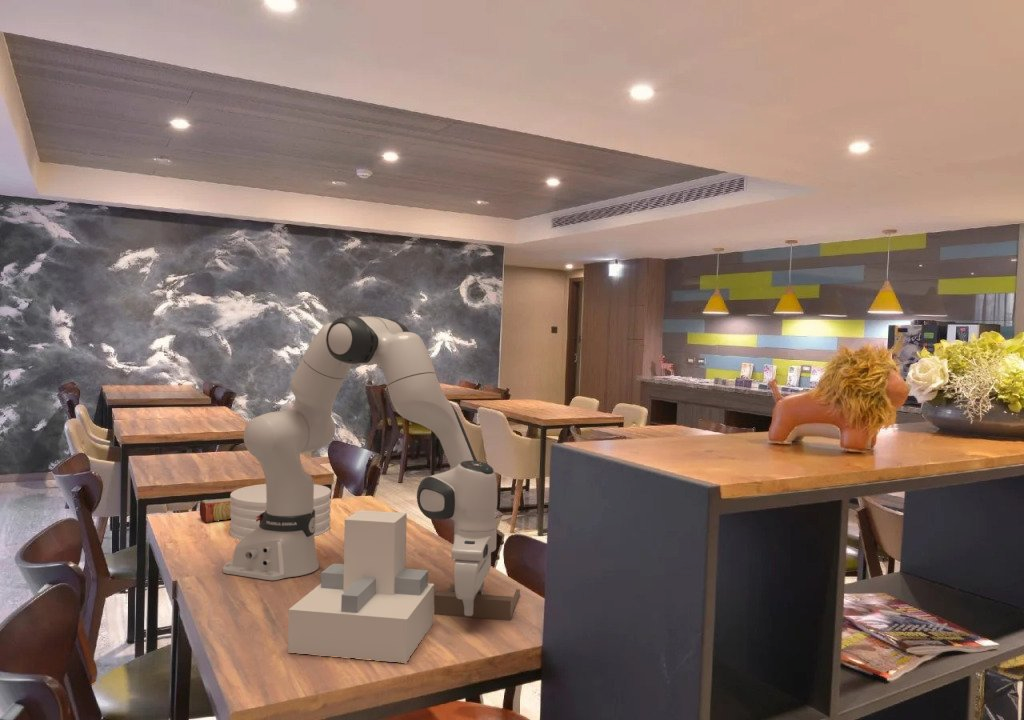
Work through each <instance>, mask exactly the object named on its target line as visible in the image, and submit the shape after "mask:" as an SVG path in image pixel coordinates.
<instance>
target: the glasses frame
mask: <svg viewBox="0 0 1024 720" xmlns="http://www.w3.org/2000/svg"><path fill="white" fill-rule="evenodd" d="M520 591H521V589H517V588H516V589H515V591H514V595H513V596H511V595H508V596H507V595H496V594H493V595H492V594H484V593H483V594H476V596H475V598H474V613H473V615H472V616H466V615H465V614H464V604H463V599H457V597H456V594H455V584H450V586H449V587H448V589H447V590H446V591H445V590H438V591H437V592H436V593H434V614H433V615H438V616H439V615H440V616H452V617H464V618H477V619H487V618H488V619H489V620H501V621H511V620H512V617H513V613H514V611H515V608H516V605H517V603H518V600H519V598H520V595H521V592H520Z"/></svg>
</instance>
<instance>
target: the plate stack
mask: <svg viewBox="0 0 1024 720" xmlns="http://www.w3.org/2000/svg"><path fill="white" fill-rule="evenodd" d="M331 495H332V489H331V488H329V487H328V486H325V485H321V484H317V483H316V484H315V483H314V501H313V509H314V510H315V533H314V537H315V536H319V535H321V534H323V533H325V532H327V531H328V530H329V529H330V530H331V523H330V522H331V508H332V507H331V502H332V501H331V500H332V499H331ZM229 498H230V499H231V503H230V508H231V511H230V517H231V520H229V526H230V529H229V535H230V537H231V536H232V537H231V538H233V539H235V538H236V539H235V540H237V539H239V540H238V541H240V540H242V539H243V538H245V537H246V536H247V535H249V534H250V533H251V532H252V531H254V530H255V529H256V528H258V527H259V524H260V520H259V521H256V520H257V519H258V518H256V517H257V516H260V514H262V513H263V512H265V510H266V483H263V484H262V483H261V484H254V485H248V486H244V487H240V488H237V489H234V490H233V491H232V492H231V493H230V497H229ZM330 530H329V531H330ZM327 533H328V532H327ZM319 537H320V536H319Z"/></svg>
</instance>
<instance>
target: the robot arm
mask: <svg viewBox="0 0 1024 720" xmlns="http://www.w3.org/2000/svg"><path fill="white" fill-rule="evenodd" d="M354 364H355V365H362V366H363V365H364V366H374V365H378V366H379V367H380V368H381V370H382V372H383V374H384V378H385V379H384V380H385V383H386V387H387V390H388V391H387V392H388V394H389V399H390V402H391V403H392V406H393V408H394V410H395V412H396V413H397V414H398V415H399V416H401V417H402V418H403V419H405V420H407V421H409V422H411V423H412V422H413V423H415V424H418V425H421V426H423V427H425V428H427V430H428V429H429V430H430V431H432V433H434V435H435V436H436V437H437V438H438V440H439V442H440V445H441V447H442V449H443V452H444V454H445V457H446V459H447V461H448V465H449V467H450V469H449V470H446V471H442V472H439V473H435V474H433V475H428V476H427V477H425V478H423V479H422V480H421V481H420V483H419V485H418V488H417V492H416V501H417V502H416V503H417V506H418V508H419V511H420V512H421V513H422V515H424V516H425V517H426V518H427V519H430V520H436V521H440V520H449V519H450V520H452V521H453V522H454V526H453V527H454V529H453V534H454V535H453V544H452V547H451V553H450V554H451V555H450V556H451V559H452V560H454V561H453V578H454V585H455V590H454V592H455V594H456V597H457V599H463V604H464V614H465V615H466V616H472V615H473V613H474V598H475V596H476V594H484V585H485V580H486V578H487V576H488V574H489V573H490V571H491V566H492V553H493V552H495V551H496V549H497V530H498V529H497V527H498V525H497V520H496V511H497V508H498V482H497V476H496V472H495V470H494V468H493V467H492V466H491V465H490V464H488V463H485V462H483V461H478V460H477V458H476V455H475V453H474V451H473V447H472V446H471V442H470V440H469V438H468V435H467V434H466V430H465V428H464V426H463V423H462V421H461V418H460V417H459V414H458V412H457V410H456V409H455V407H454V406H453V404H452V403H451V402H450V401H449V400H448V398H447V397H446V394H445V393H444V391H443V389H442V387H441V385H440V383H439V379H438V377H437V373H436V370H435V367H434V364H433V360H432V358H431V356H430V353H429V351H428V349H427V346H426V343H424V341H423V339H422V337H421V336H420V335H419V334H417V333H415V332H412V331H411V332H410V331H409V329H408V328H407V327H406V325H404V324H403V323H401V322H400V321H398V320H395V319H391V318H390V319H389V318H388V319H387V318H383V317H379V316H374V315H373V316H370V315H369V316H356V315H346V316H342V317H339V318H337V319H335V320H334V321H332V322H328V323H326V324H325V325H323V326H322V327H321V328H320V330H319V331H318V332H317V333H316V335H315V336H314V337H313V339H312V340H311V342H310V343H309V345H308V346H307V348H306V351H305V352H304V354H303V356H302V358H301V359H300V362H299V364H298V366H297V368H296V370H295V372H294V374H293V375H292V377H291V380H290V384H289V385H290V386H289V387H290V389H291V392H292V394H293V396H294V397H295V398H294V402H293V405H291V407H290V408H289V409H288V410H287V409H286V410H281V411H280V410H279V411H271V412H266V413H263V414H260V415H258V416H255V417H254V418H252V419H250V420H249V421H248V422H247V423H246V425H245V427H244V431H243V442H244V446H245V449H247V451H248V452H249V454H250V455H251V456H253V457H254V459H256V460H257V461H258V463H259V464H260V467H261V468H262V469H261V470H262V472H263V474H264V478H265V479H264V480H265V484H266V510H265V512H263V513H262V514H260V516H257V517H256V518H258V519H257V520H256V521H259V520H260V524H259V527H258V528H256V529H255V530H254V531H252V532H251V533H250V534H249V535H247V536H246V537H245V538H243V539H242V540H241V541H240V540H239V542H237V544H236V546H235V549H234V551H233V554H232V555H233V556H232V559H230V560H229V561H227V562H226V563H225V564H224V565H223V567H222V573H223V574H228V575H235V576H238V577H239V576H241V577H247V578H251V579H252V578H253V579H259V580H266V581H278V580H283V579H285V578H292V577H293V578H294V577H299V576H304V575H309V574H311V573H313V572H316V571H317V570H319V569H320V563H319V560H318V556H317V550H316V544H315V538H314V533H315V510H314V509H313V501H314V484H315V482H314V481H315V480H314V478H313V477H312V475H311V474H310V473H308V472H307V471H305V469H304V468H303V465H302V461H301V454H306V453H312V452H316V451H317V450H319V449H321V448H324V447H325V446H327V445H328V444H330V443H331V442H332V440H333V439H334V437H335V433H336V424H335V421H334V418H333V416H332V410H333V405H334V403H335V400H336V398H337V396H338V394H339V392H340V389H341V388H342V386H343V384H344V382H345V380H346V378H347V376H348V374H349V371H350V370H351V368H352V366H353V365H354Z"/></svg>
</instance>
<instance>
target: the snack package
mask: <svg viewBox="0 0 1024 720" xmlns="http://www.w3.org/2000/svg"><path fill="white" fill-rule="evenodd" d="M230 503H231V499H230V497H229V498H228V497H227V498H216V499H204V500H201V502H200V504H199V516H200V519H201V521H202V520H203V521H204V522H203V521H202V522H203V523H205V522H210V523H212V522H211V521H216V522H219V521H218V520H224V521H228V520H227V519H231V517H230V511H231V508H230Z"/></svg>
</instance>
